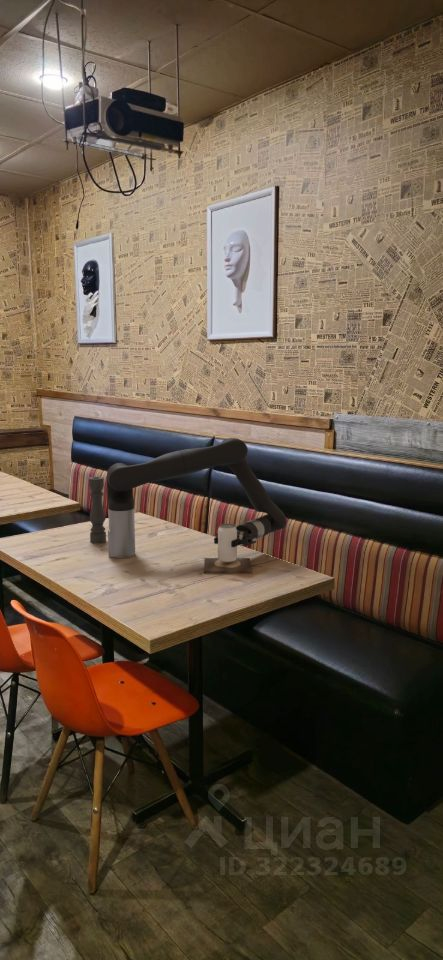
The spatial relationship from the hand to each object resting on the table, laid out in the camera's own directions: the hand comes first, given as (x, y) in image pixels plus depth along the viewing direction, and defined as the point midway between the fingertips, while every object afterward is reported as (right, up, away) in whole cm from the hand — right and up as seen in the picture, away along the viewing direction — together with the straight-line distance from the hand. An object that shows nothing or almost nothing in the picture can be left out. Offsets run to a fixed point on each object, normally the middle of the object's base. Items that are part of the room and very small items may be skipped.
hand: (223, 542), depth 226 cm
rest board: (+1, -9, +4) cm, 9 cm away
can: (+1, -6, +3) cm, 7 cm away
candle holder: (-49, -3, +35) cm, 60 cm away
